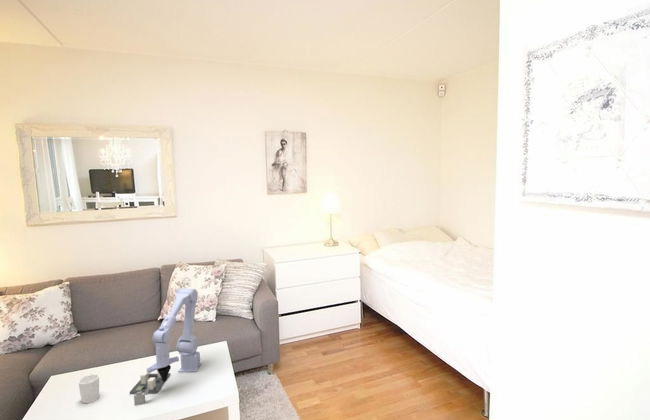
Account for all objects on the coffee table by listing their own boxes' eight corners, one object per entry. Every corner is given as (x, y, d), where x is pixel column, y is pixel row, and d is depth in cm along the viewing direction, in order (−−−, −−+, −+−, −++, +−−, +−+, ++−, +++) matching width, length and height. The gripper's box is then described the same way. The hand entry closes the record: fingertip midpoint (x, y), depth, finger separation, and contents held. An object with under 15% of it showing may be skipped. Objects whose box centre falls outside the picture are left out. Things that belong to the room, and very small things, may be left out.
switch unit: (170, 375, 176) (170, 372, 175) (156, 393, 161) (156, 390, 161) (145, 376, 175) (145, 373, 175) (129, 394, 160) (129, 391, 160)
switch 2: (155, 385, 164) (155, 377, 164) (152, 389, 161) (152, 381, 161) (151, 385, 164) (150, 377, 164) (147, 389, 161) (147, 381, 161)
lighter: (134, 405, 152) (133, 388, 152) (135, 402, 154) (134, 386, 153) (151, 402, 154) (150, 385, 154) (152, 399, 156) (151, 383, 155)
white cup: (84, 406, 152) (83, 386, 151) (77, 400, 156) (75, 380, 155) (103, 397, 159) (102, 377, 158) (95, 391, 163) (94, 372, 162)
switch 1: (148, 380, 169) (148, 371, 169) (145, 383, 166) (145, 375, 166) (144, 380, 169) (143, 372, 169) (140, 383, 166) (140, 375, 166)
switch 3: (165, 374, 174) (164, 366, 174) (162, 377, 171) (161, 369, 171) (160, 374, 174) (160, 366, 174) (157, 377, 171) (157, 369, 171)
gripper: (173, 345, 170) (175, 371, 171) (143, 357, 159) (145, 384, 160) (180, 350, 165) (181, 376, 166) (149, 362, 154) (151, 390, 155)
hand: (164, 380), depth 163 cm, fingers closed
